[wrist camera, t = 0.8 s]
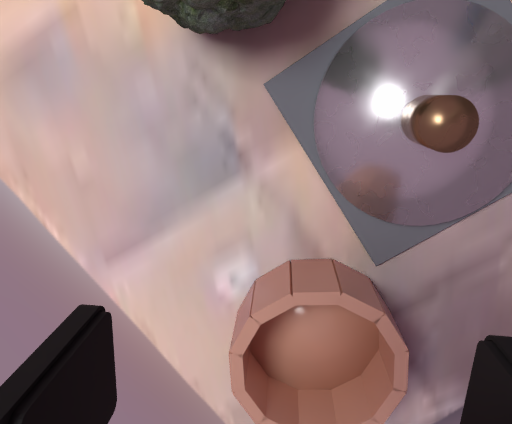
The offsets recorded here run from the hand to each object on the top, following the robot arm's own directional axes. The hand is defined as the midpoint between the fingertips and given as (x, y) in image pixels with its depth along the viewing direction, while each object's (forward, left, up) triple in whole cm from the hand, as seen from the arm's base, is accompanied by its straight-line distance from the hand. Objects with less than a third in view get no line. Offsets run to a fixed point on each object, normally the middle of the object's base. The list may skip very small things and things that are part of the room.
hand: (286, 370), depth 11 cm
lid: (-11, +1, -23) cm, 26 cm away
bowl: (+5, +12, -24) cm, 27 cm away
